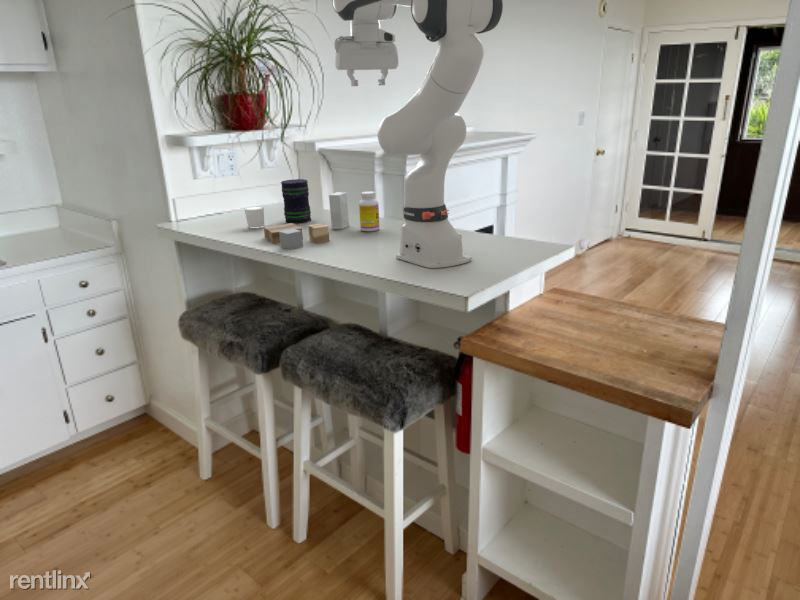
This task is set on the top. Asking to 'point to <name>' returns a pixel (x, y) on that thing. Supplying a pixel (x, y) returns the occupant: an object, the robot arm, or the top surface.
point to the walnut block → (273, 231)
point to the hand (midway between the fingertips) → (368, 85)
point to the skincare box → (339, 210)
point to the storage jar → (296, 201)
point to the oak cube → (318, 233)
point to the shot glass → (255, 216)
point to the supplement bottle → (369, 212)
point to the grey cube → (290, 238)
